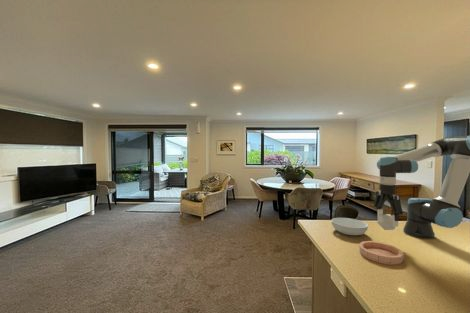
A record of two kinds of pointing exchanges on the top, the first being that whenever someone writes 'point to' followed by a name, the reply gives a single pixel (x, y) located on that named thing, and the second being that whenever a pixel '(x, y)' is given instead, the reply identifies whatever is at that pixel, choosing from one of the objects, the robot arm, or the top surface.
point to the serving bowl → (349, 226)
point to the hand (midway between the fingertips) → (387, 223)
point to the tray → (381, 252)
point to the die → (386, 221)
